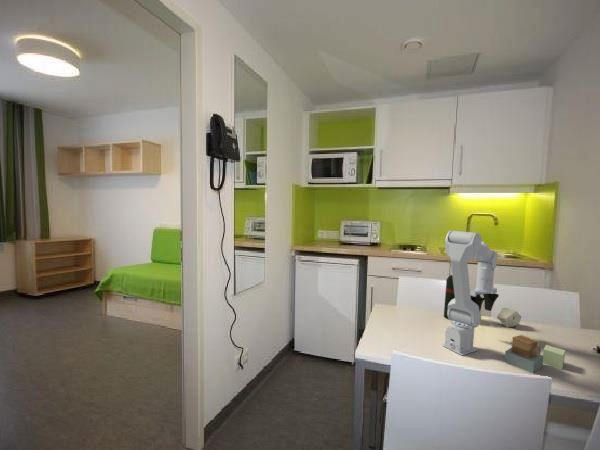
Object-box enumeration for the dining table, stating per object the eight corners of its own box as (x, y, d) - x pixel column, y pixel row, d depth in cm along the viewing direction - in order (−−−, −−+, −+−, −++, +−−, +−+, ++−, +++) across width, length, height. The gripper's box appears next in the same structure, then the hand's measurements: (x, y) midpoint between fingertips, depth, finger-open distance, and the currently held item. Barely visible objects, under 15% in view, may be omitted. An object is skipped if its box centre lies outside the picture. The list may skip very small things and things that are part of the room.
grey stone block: (493, 325, 131) (507, 314, 125) (492, 311, 138) (505, 299, 131) (512, 334, 130) (527, 323, 123) (510, 319, 136) (524, 308, 130)
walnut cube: (527, 358, 95) (529, 343, 94) (511, 351, 99) (512, 337, 99) (536, 355, 97) (538, 341, 96) (520, 348, 101) (521, 334, 101)
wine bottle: (469, 323, 132) (474, 257, 130) (445, 319, 135) (449, 255, 133) (465, 316, 140) (470, 254, 137) (442, 313, 143) (446, 252, 140)
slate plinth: (532, 374, 93) (533, 362, 93) (504, 362, 99) (505, 351, 99) (542, 367, 97) (543, 355, 97) (514, 356, 104) (515, 345, 104)
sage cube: (561, 370, 96) (563, 355, 95) (542, 363, 99) (543, 349, 99) (563, 364, 99) (565, 350, 99) (544, 358, 103) (546, 344, 102)
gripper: (484, 282, 111) (481, 317, 112) (505, 279, 118) (503, 312, 119) (466, 278, 118) (463, 311, 119) (488, 275, 124) (485, 306, 125)
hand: (482, 311), depth 119 cm, fingers open, 7 cm apart
